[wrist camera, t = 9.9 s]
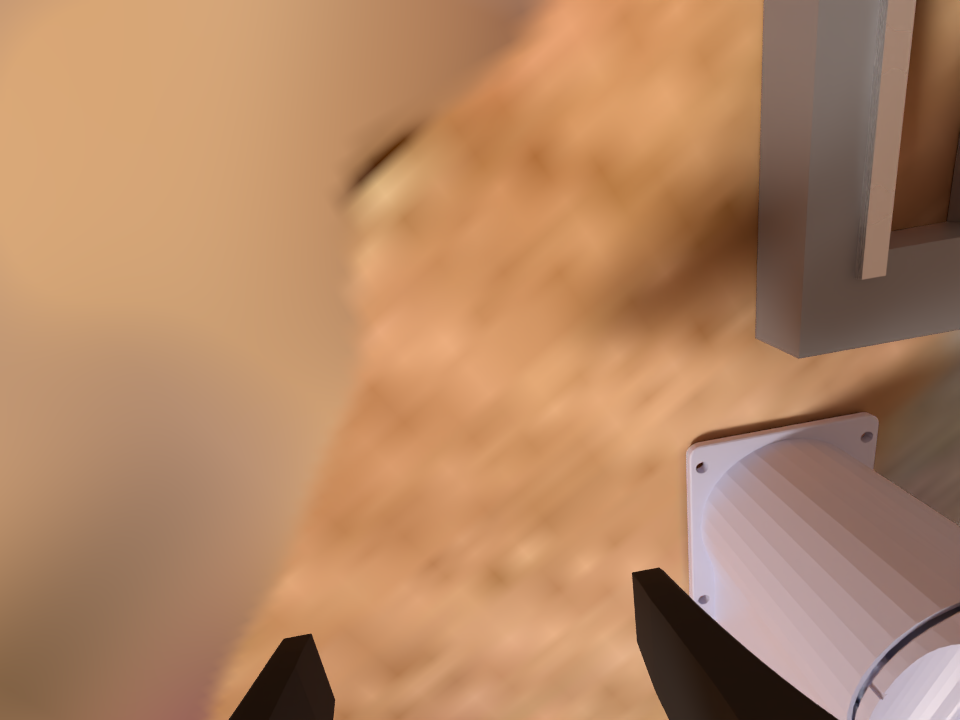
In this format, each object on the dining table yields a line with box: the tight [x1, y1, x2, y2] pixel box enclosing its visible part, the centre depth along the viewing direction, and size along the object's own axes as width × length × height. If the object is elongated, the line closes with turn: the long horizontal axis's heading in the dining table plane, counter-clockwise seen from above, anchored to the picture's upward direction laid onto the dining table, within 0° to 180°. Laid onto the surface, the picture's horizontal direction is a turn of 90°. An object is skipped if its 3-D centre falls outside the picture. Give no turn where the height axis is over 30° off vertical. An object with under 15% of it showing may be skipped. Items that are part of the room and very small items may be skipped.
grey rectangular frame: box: [756, 0, 960, 358], centre depth 16 cm, size 14×10×3 cm
